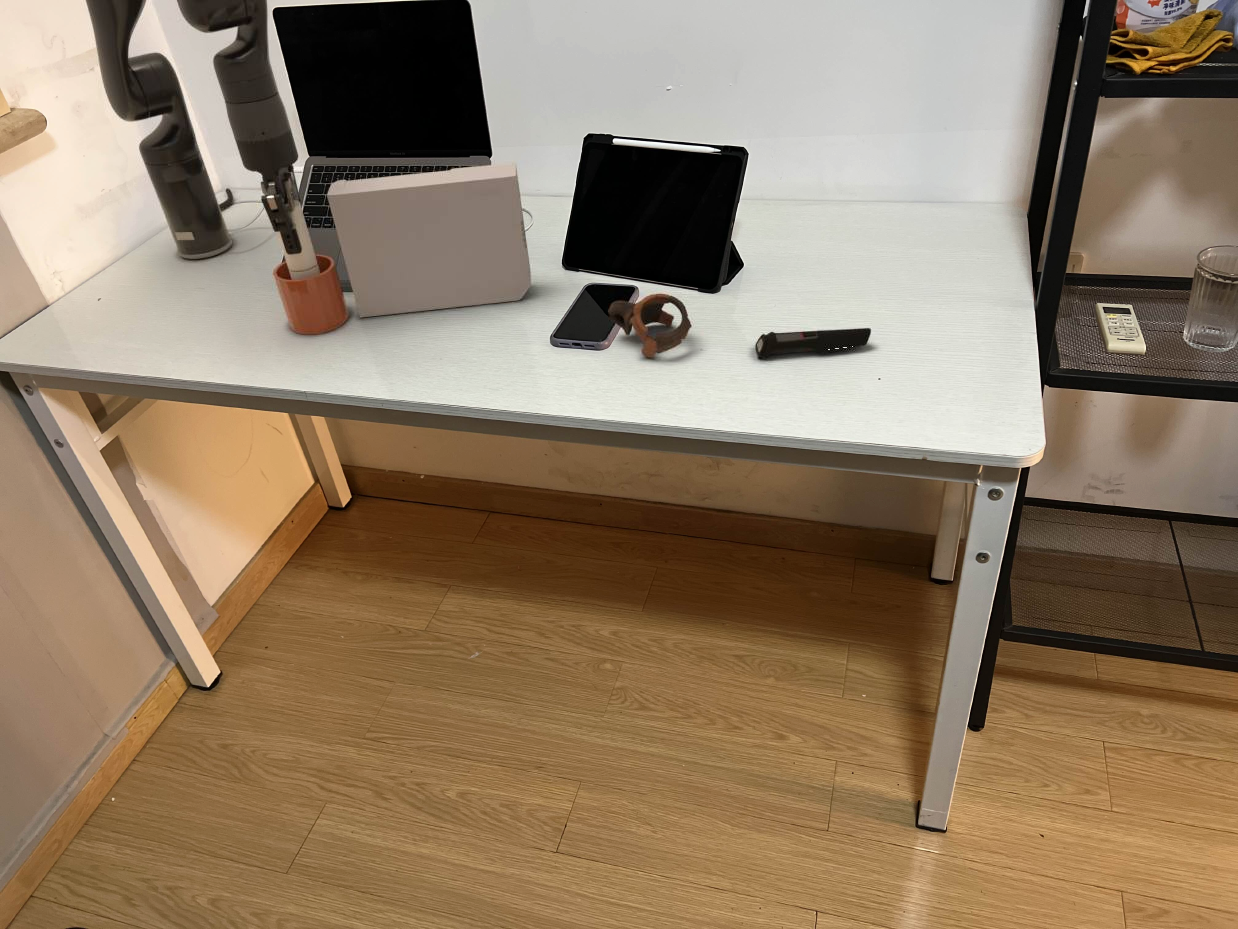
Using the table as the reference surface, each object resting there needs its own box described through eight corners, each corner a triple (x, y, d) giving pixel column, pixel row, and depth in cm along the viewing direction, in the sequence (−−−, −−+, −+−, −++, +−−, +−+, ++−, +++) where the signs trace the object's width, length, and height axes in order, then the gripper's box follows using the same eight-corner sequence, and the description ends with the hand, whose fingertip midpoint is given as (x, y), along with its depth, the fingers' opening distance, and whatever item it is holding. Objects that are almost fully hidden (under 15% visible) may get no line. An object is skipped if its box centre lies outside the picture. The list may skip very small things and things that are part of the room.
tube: (319, 305, 140) (291, 211, 131) (293, 304, 141) (263, 211, 132) (331, 292, 143) (305, 199, 134) (306, 291, 144) (278, 199, 135)
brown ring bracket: (691, 325, 136) (700, 295, 128) (676, 380, 132) (684, 352, 125) (613, 304, 136) (617, 272, 129) (596, 357, 133) (599, 328, 125)
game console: (363, 301, 148) (331, 180, 136) (532, 282, 149) (515, 161, 137) (359, 318, 144) (326, 195, 132) (533, 299, 145) (516, 175, 133)
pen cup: (294, 310, 147) (277, 258, 142) (350, 303, 148) (336, 251, 143) (286, 338, 140) (269, 284, 135) (346, 330, 141) (331, 276, 136)
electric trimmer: (871, 355, 126) (874, 334, 124) (758, 361, 126) (759, 341, 124) (865, 341, 129) (868, 321, 127) (754, 347, 129) (755, 327, 127)
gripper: (282, 143, 121) (317, 263, 131) (296, 110, 132) (327, 223, 143) (224, 150, 120) (264, 270, 131) (242, 116, 131) (277, 229, 142)
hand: (296, 245), depth 137 cm, fingers closed on tube, 4 cm apart
